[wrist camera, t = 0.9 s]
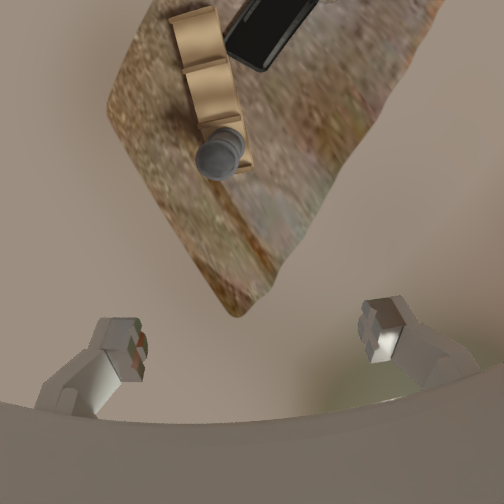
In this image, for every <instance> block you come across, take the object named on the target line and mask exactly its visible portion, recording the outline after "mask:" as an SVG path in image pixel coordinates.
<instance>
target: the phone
mask: <svg viewBox="0 0 504 504" xmlns="http://www.w3.org/2000/svg"><path fill="white" fill-rule="evenodd" d="M317 3H318V0H251V1H250V2H249V4H248V5H247V7H246V8H245V9H244V11H243V12H242V14H241V15H240V16H239V18H238V19H237V21H236V22H235V24H234V25H233V26H232V28H231V29H230V31H229V32H228V34H227V35H226V37H225V38H224V40H223V41H224V44H225V48H226V53H227V55H229V56H231V57H232V58H234V59H236V60H238V61H240V62H241V63H243V64H245V65H247V66H248V67H250V68H252V69H254V70H255V71H257V72H265V71H267V70H268V68H269V67H270V66H271V64H272V63H273V61H274V60H275V59H276V57H277V56H278V54H279V53H280V52H281V50H282V49H283V48H284V46H285V45H286V44H287V42H288V41H289V39H290V38H291V37H292V35H293V34H294V33H295V32H296V30H297V29H298V28H299V26H300V25H301V24H302V22H303V21H304V20H305V18H306V17H307V16H308V15H309V13H310V12H311V11H312V10H313V8H314V7H315V6H316V5H317Z"/></svg>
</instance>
